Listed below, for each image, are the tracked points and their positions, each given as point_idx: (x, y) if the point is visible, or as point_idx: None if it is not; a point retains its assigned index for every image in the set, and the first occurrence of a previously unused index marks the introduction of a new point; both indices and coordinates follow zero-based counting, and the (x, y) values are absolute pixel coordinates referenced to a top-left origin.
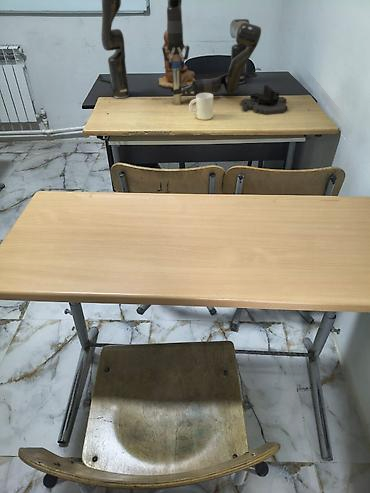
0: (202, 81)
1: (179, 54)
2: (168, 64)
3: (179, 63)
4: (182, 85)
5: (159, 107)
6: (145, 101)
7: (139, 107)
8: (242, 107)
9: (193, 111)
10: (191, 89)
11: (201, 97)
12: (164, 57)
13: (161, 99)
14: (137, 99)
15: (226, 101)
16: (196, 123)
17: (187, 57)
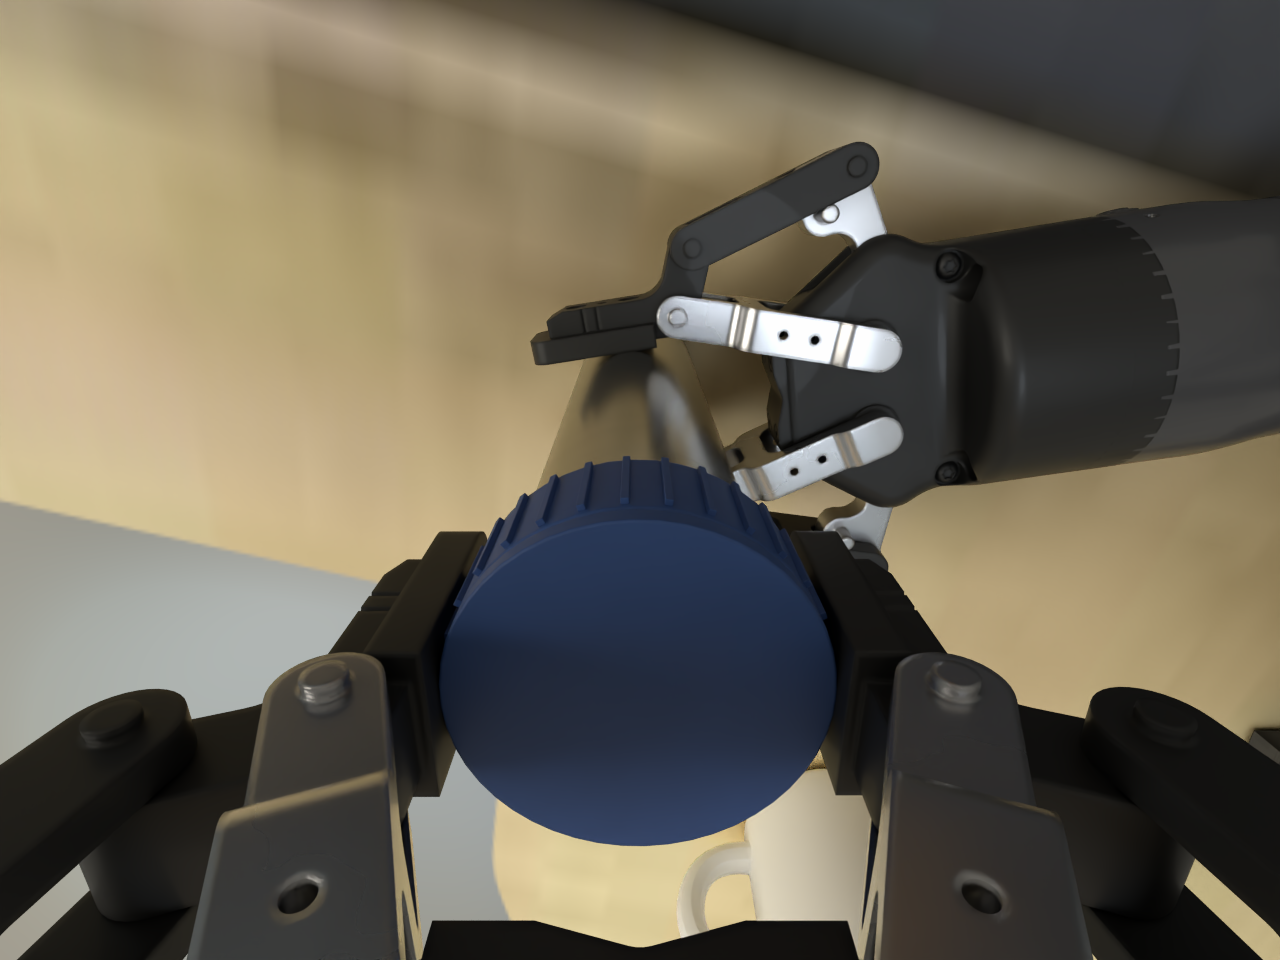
0: (1152, 428)
1: (875, 908)
2: (354, 623)
3: (730, 818)
4: (753, 352)
5: (393, 471)
6: (178, 178)
7: (134, 410)
8: (1267, 741)
9: (721, 875)
10: (852, 546)
11: (858, 923)
12: (14, 816)
13: (420, 146)
14: (26, 33)
15: (1247, 467)
16: (711, 906)
17: (1165, 922)
